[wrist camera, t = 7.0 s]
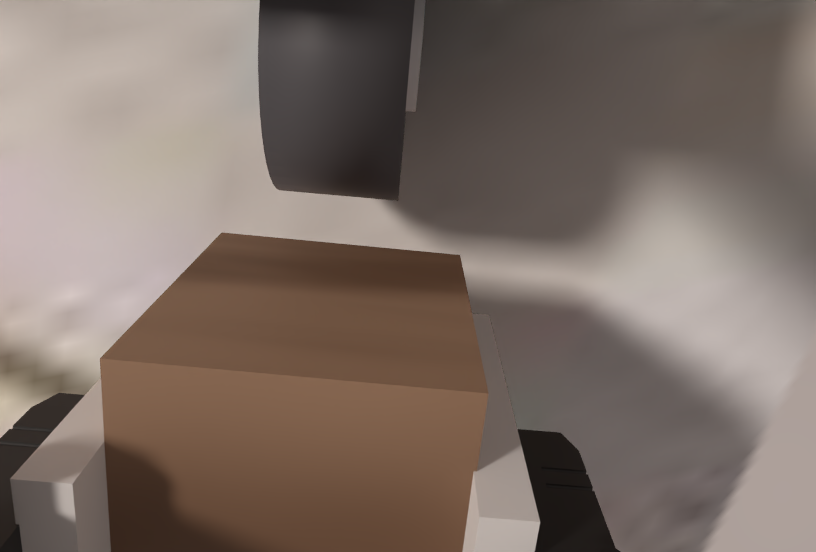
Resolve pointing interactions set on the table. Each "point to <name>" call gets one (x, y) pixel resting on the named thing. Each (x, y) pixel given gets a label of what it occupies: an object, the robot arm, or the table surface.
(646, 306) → the table surface
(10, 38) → the table surface
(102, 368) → the block
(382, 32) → the grey bracket
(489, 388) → the robot arm
